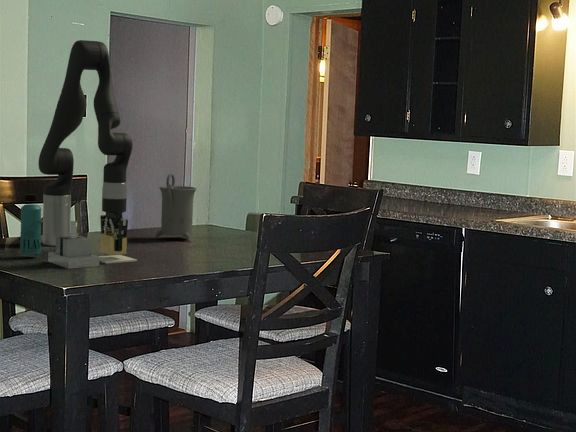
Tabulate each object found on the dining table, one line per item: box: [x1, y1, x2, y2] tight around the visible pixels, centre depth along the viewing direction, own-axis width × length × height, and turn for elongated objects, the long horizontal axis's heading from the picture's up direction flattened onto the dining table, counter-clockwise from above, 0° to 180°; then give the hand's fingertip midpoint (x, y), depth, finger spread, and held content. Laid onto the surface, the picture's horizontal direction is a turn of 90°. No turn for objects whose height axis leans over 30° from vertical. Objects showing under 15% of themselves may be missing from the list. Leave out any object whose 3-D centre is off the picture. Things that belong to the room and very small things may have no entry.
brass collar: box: [99, 233, 128, 256], centre depth 290 cm, size 6×6×6 cm
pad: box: [98, 254, 138, 264], centre depth 291 cm, size 11×11×1 cm
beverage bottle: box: [19, 193, 43, 255], centre depth 288 cm, size 6×7×20 cm
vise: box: [47, 220, 100, 269], centre depth 280 cm, size 14×10×13 cm
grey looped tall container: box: [153, 173, 197, 243], centre depth 342 cm, size 19×15×25 cm
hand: (113, 249), depth 291 cm, fingers closed on brass collar, 6 cm apart
